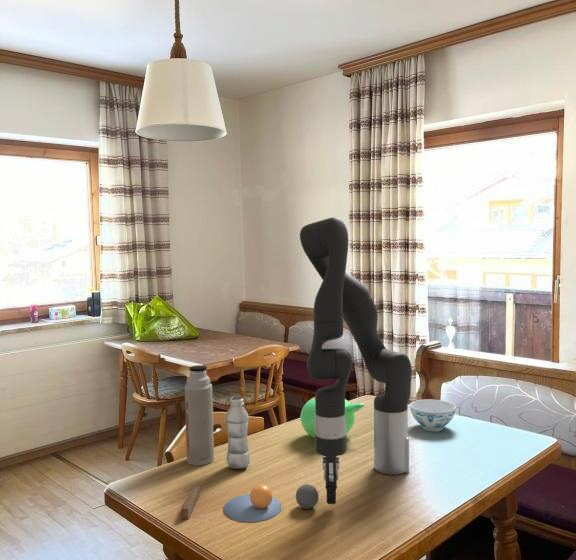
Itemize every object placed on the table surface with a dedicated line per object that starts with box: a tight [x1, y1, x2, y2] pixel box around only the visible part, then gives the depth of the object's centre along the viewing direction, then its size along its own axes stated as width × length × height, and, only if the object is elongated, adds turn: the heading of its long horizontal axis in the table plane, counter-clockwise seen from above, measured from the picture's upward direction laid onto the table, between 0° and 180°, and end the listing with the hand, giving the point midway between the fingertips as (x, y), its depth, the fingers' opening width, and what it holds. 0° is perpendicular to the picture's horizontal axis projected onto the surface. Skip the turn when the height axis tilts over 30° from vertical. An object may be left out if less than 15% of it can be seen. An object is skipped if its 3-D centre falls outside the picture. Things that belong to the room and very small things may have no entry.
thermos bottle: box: [184, 364, 215, 466], centre depth 166 cm, size 8×8×28 cm
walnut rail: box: [181, 485, 201, 520], centre depth 138 cm, size 2×12×2 cm, turn 177°
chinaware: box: [409, 398, 457, 432], centre depth 191 cm, size 15×15×8 cm
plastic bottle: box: [225, 396, 251, 470], centre depth 161 cm, size 6×7×20 cm
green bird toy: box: [299, 396, 365, 438], centre depth 183 cm, size 18×17×15 cm
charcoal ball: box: [295, 483, 319, 510], centre depth 137 cm, size 6×6×6 cm
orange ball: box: [249, 483, 274, 509], centre depth 137 cm, size 6×6×6 cm
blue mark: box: [223, 493, 282, 523], centre depth 137 cm, size 14×14×1 cm
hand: (331, 502), depth 136 cm, fingers closed
